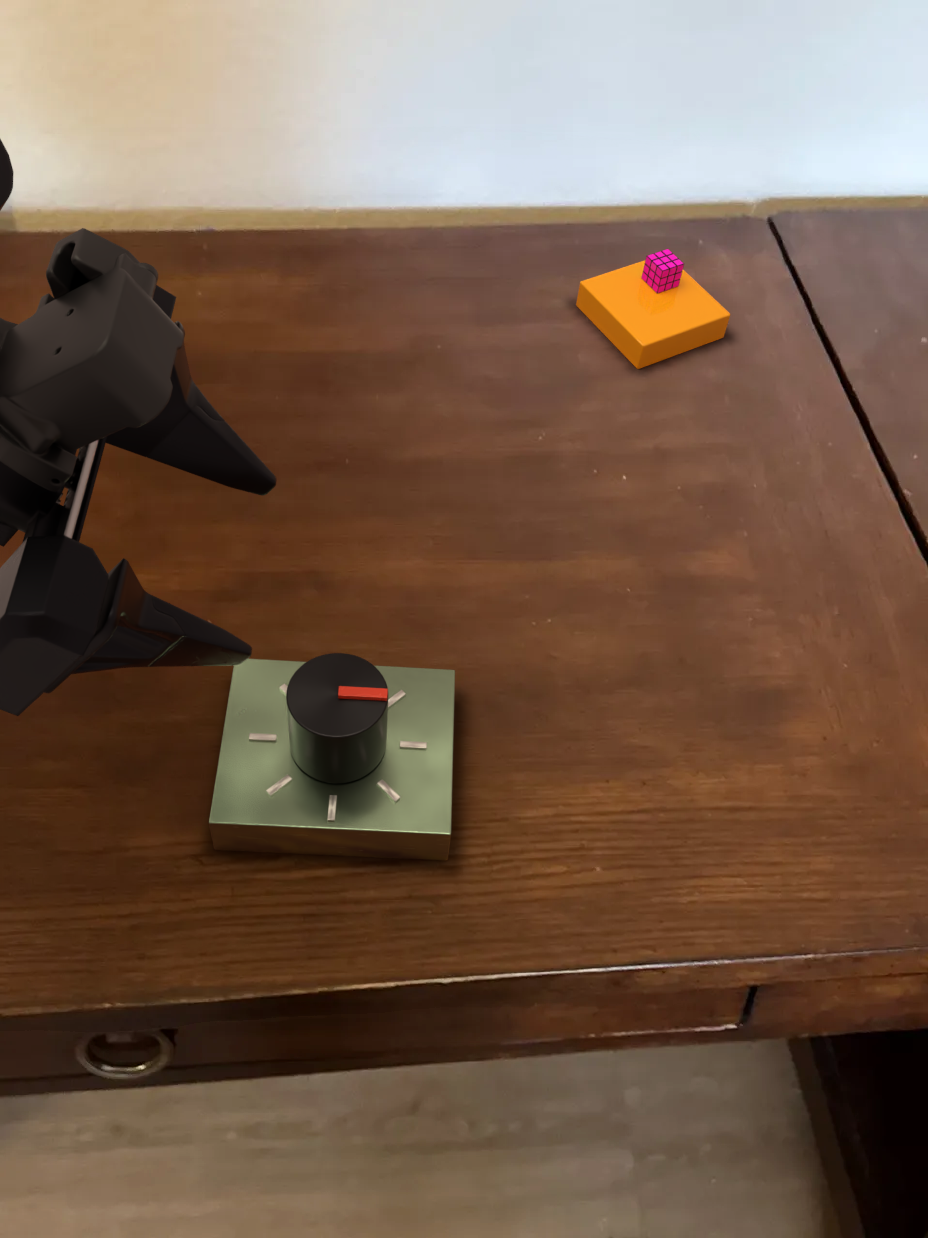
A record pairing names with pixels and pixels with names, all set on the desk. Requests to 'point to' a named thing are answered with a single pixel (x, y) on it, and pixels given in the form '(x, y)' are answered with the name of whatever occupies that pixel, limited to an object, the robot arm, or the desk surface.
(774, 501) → the desk surface
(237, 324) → the desk surface
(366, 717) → the pointer wheel
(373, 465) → the desk surface
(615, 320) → the orange square platform
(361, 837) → the dial panel
